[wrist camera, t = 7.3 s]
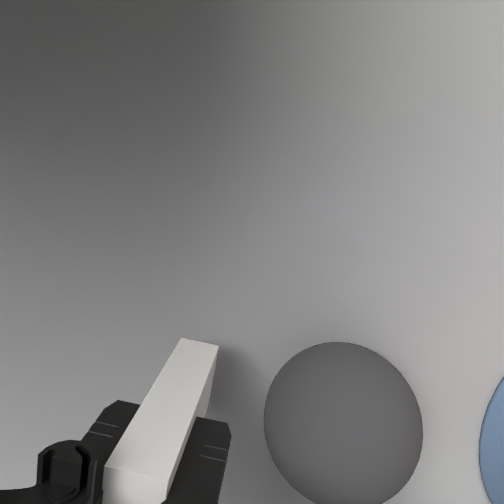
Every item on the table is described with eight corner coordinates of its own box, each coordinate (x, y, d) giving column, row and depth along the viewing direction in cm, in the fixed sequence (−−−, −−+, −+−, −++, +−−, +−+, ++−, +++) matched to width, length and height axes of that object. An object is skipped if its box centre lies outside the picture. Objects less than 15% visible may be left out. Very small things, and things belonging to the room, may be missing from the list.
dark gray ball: (477, 512, 11) (445, 401, 16) (345, 355, 11) (355, 294, 16) (321, 578, 13) (336, 460, 18) (210, 443, 13) (257, 364, 18)
